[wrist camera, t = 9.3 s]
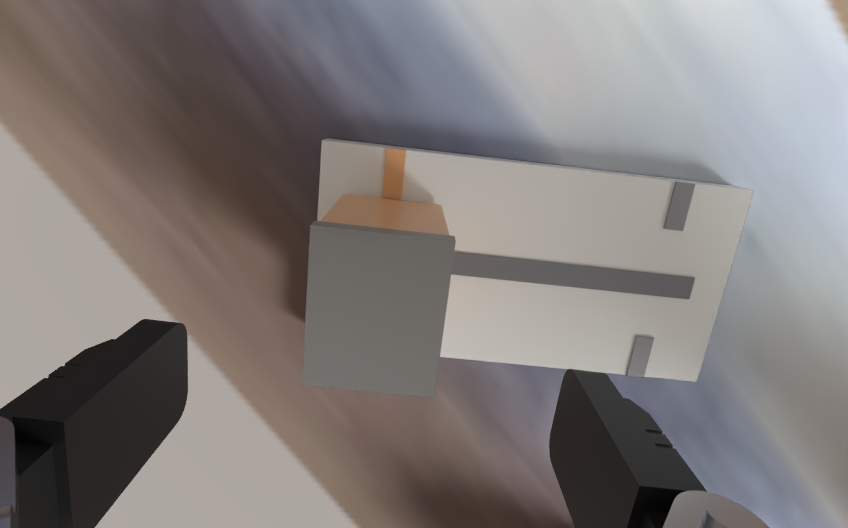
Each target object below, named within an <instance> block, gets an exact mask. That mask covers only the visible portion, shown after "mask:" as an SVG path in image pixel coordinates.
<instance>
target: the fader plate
mask: <svg viewBox="0 0 848 528" xmlns="http://www.w3.org/2000/svg"><path fill="white" fill-rule="evenodd" d="M753 193H754V190H749V189H745V188H741V187H737V186H732V185H723V184H715V183H706V182H698V181H689V180H681V179H672V178H664V177H655V176H646V175H638V174H629V173H621V172H612V171H604V170H595V169H587V168H578V167H569V166H561V165H552V164H544V163H535V162H527V161H518V160H510V159H501V158H493V157H484V156H475V155H467V154H458V153H450V152H441V151H433V150H424V149H416V148H407V147H399V146H390V145H381V144H373V143H364V142H356V141H347V140H339V139H330V138H327V139H324V140H322V145H321V163H320V181H319V199H318V216H317V221H321V220H322V218H323V217H324V216H325V215H326V214H327V213H328V211H329V210H330V209H331V208H332V207H333V206H334V205H335V203H336V202H337V201H338V200H339V199H340V198H341V196H342V195H343V194H350V195H359V196H368V197H377V198H385V199H394V200H403V201H412V202H421V203H430V204H439V205H441V206H442V209H443V213H444V217H445V220H446V224H447V227H448V231H449V235H451V236H455V240H456V243H455V251H454V258H453V265H452V272H451V280H450V287H449V294H448V302H447V309H446V316H445V323H444V331H443V338H442V345H441V352H440V357H448V358H458V359H468V360H479V361H489V362H499V363H510V364H520V365H530V366H540V367H551V368H561V369H575V370H584V371H592V372H602V373H613V374H623V375H626V376H631V377H641V378H644V377H654V378H664V379H674V380H685V381H695V382H697V379H698V376H699V372H700V369H701V366H702V362H703V359H704V356H705V352H706V349H707V346H708V342H709V339H710V336H711V333H712V329H713V326H714V323H715V319H716V316H717V313H718V309H719V306H720V303H721V299H722V296H723V293H724V289H725V286H726V283H727V279H728V276H729V273H730V270H731V266H732V263H733V260H734V256H735V253H736V250H737V246H738V243H739V240H740V236H741V233H742V230H743V226H744V223H745V220H746V216H747V213H748V210H749V207H750V203H751V200H752V197H753Z"/></svg>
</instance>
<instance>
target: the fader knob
mask: <svg viewBox="0 0 848 528" xmlns="http://www.w3.org/2000/svg"><path fill="white" fill-rule="evenodd" d="M455 243H456V240H455V236H451V235H449V231H448V227H447V224H446V220H445V217H444V213H443V209H442V206H441V205H439V204H430V203H421V202H412V201H403V200H394V199H385V198H377V197H368V196H359V195H350V194H343V195H342V196H341V198H340V199H339V200H338V201H337V202H336V203H335V205H334V206H333V207H332V208H331V209H330V210H329V211H328V213H327V214H326V215H325V216H324V217H323V218H322V220H321V221H314V222H313V223H312V224H311V225H310V240H309V259H308V278H307V297H306V316H305V335H304V354H303V373H302V386H310V387H320V388H331V389H342V390H353V391H363V392H374V393H385V394H395V395H406V396H417V397H428V398H434V396H435V389H436V382H437V374H438V367H439V360H440V352H441V345H442V338H443V331H444V323H445V316H446V309H447V302H448V294H449V287H450V280H451V272H452V265H453V258H454V251H455Z"/></svg>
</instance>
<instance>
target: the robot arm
mask: <svg viewBox="0 0 848 528" xmlns="http://www.w3.org/2000/svg"><path fill="white" fill-rule="evenodd" d="M187 364H188V360H187V330H186V327H185V326H184V324H182V323H175V322H166V321H158V320H149V319H143V320H141V321H140V322H138V323H137V324H136V325H134V326H133V327H132V328H130V329H129V330H128V331H126V332H125V333H123V334H122V335H121V336H119V337H118V338H117V339H111V340H109V341H106V342H103V343H101V344H98V345H95V346H93V347H90V348H88V349H85V350H84V351H82V352H81V353H79V354H78V355H76V356H75V357H74V358H72V359H71V360H69V361H68V362H67V363H65V366H61V367H59V368H58V369H57V370H55V371H54V372H52V373H51V374H49V377H48V378H44V379H42V380H41V381H40V382H38V383H37V384H36V385H34V386H32V387H31V388H30V389H28V390H27V391H25V392H24V393H23V394H21V395H20V396H18V397H17V398H15V399H14V400H13V401H11V402H10V403H8V404H7V405H6V406H4V407H3V408H1V409H0V528H94V527H95V526H96V525H97V524H98V522H99V521H100V520H101V519H102V517H103V516H104V515H105V513H106V512H107V511H108V510H109V509H110V507H111V506H112V505H113V504H114V502H115V501H116V499H117V498H118V497H119V496H120V495H121V493H122V492H123V491H124V489H125V488H126V487H127V486H128V485H129V483H130V482H131V481H132V479H133V478H134V477H135V476H136V474H137V473H138V472H139V471H140V469H141V468H142V467H143V465H144V464H145V463H146V462H147V461H148V459H149V458H150V457H151V455H152V454H153V453H154V452H155V450H156V449H157V448H158V447H159V445H160V444H161V443H162V442H163V440H164V439H165V438H166V436H167V435H168V434H169V433H170V431H171V430H172V429H173V428H174V426H175V425H176V424H177V422H178V421H179V419H180V418H181V415H182V413H183V411H184V408H185V404H186V400H187V393H188V374H187V373H188V365H187ZM672 446H673V445H672V444H671V442H670V441H669V440H668V438H667V437H666V436H665V435H664V434H662V430H661V429H660V428H659V426H658V425H657V424H656V422H655V421H654V420H653V418H652V417H651V416H650V414H648V413H647V412H646V411H644V410H643V409H642V408H641V407H639V406H638V405H637V404H635V403H634V402H633V401H631V400H630V399H625V398H623V397H622V396H621V395H620V393H619V392H618V390H617V389H616V387H615V386H614V384H613V383H612V382H611V380H610V379H609V377H608V376H607V375H606V374H605V373H601V372H592V371H584V370H575V369H568V370H567V371H566V373H565V375H564V377H563V381H562V385H561V389H560V394H559V398H558V402H557V407H556V411H555V415H554V420H553V424H552V428H551V433H550V444H549V448H550V459H551V463H552V466H553V469H554V471H555V474H556V477H557V480H558V482H559V485H560V488H561V491H562V493H563V496H564V499H565V502H566V505H567V507H568V510H569V513H570V516H571V518H572V521H573V524H574V527H575V528H769V527H768V526H767V525H766V524H765V523H764V522H763V521H762V520H761V519H760V518H759V517H757V516H756V515H755V514H753V513H752V512H751V511H749V510H748V509H746V508H745V507H743V506H741V505H740V504H738V503H736V502H734V501H732V500H730V499H727V498H725V497H723V496H720V495H717V494H714V493H709V492H707V491H706V489H705V488H704V487H703V485H702V484H701V483H700V481H699V480H698V479H697V477H696V476H695V475H694V473H693V472H692V471H691V469H690V468H689V467H688V465H687V464H686V463H685V461H684V460H683V459H682V457H681V456H680V455H679V453H678V452H677V450H676V449H673V447H672Z"/></svg>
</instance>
